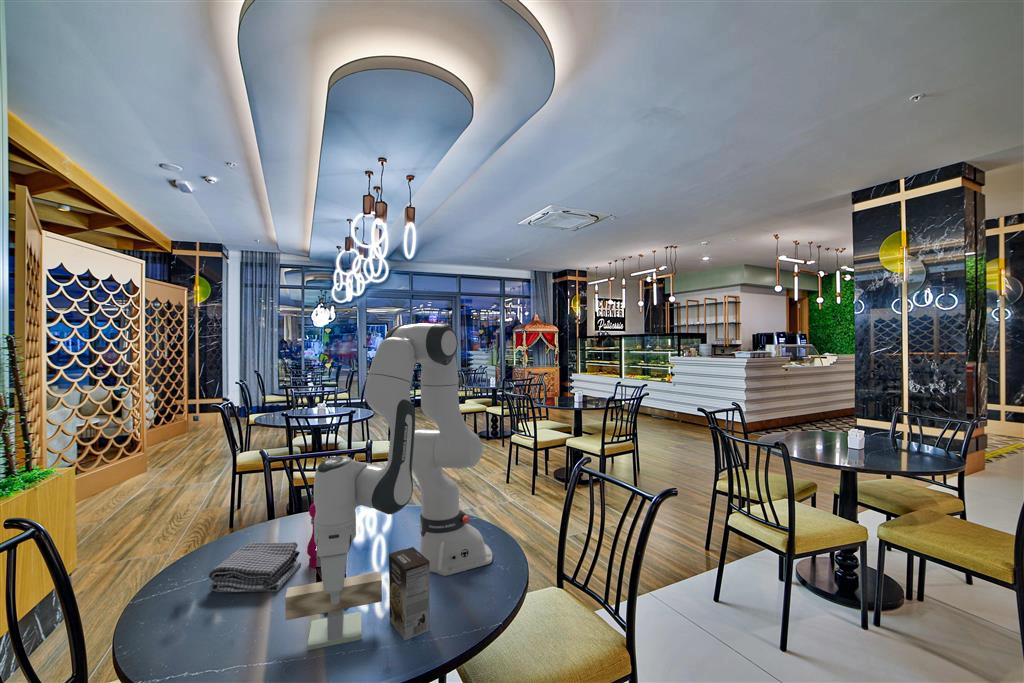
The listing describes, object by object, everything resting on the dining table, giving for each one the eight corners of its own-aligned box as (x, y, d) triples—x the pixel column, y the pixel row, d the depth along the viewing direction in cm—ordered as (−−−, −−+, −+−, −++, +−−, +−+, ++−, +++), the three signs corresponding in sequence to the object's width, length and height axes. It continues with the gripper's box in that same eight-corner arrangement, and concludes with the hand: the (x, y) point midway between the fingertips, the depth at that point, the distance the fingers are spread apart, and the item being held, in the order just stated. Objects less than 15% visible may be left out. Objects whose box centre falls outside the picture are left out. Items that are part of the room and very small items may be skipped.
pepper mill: (324, 570, 130) (323, 501, 130) (301, 567, 131) (301, 499, 131) (338, 558, 137) (338, 492, 137) (317, 555, 139) (316, 490, 138)
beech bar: (380, 592, 108) (380, 571, 108) (381, 601, 104) (381, 580, 104) (287, 609, 101) (287, 587, 101) (285, 620, 98) (285, 597, 98)
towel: (242, 565, 133) (242, 539, 133) (304, 566, 133) (303, 539, 133) (206, 595, 118) (206, 565, 118) (276, 596, 118) (275, 566, 118)
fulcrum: (361, 615, 109) (361, 590, 109) (361, 639, 100) (361, 612, 100) (311, 624, 106) (311, 599, 105) (307, 650, 97) (307, 622, 97)
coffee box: (388, 621, 107) (387, 553, 107) (413, 611, 111) (413, 545, 111) (404, 642, 100) (403, 569, 99) (430, 630, 103) (430, 560, 103)
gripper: (324, 514, 112) (325, 570, 112) (316, 553, 92) (317, 620, 93) (351, 511, 114) (352, 565, 114) (349, 548, 94) (350, 614, 95)
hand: (336, 590), depth 103 cm, fingers open, 8 cm apart
